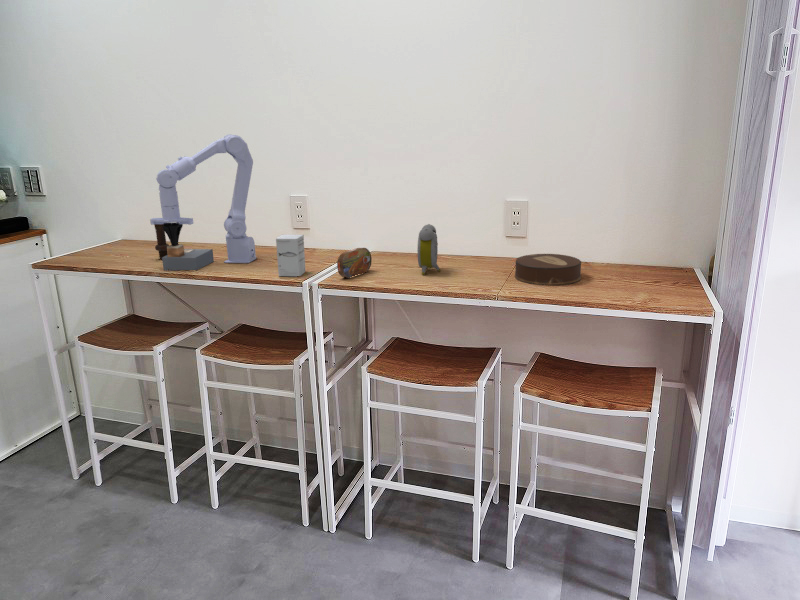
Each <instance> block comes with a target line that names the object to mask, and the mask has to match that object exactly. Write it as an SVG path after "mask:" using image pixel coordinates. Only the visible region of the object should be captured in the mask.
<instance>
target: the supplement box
mask: <svg viewBox="0 0 800 600" xmlns="http://www.w3.org/2000/svg"><path fill="white" fill-rule="evenodd" d="M304 238H305V237H304V234H281V235H279V236H278V237H276V239H275V243H276V256H277V257H276V259H277V270H278V271H277V272H278V277H297V276H300V277H301V276H302V275H304V274H305V273H306V254H305V241H304V240H305V239H304Z"/></svg>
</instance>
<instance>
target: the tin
mask: <svg viewBox="0 0 800 600" xmlns="http://www.w3.org/2000/svg"><path fill="white" fill-rule="evenodd" d="M336 265H337V266H336V267H337V272H338V274H339V276H340V277H342V278H345V277H346V279H351V278H350V277H352V276H355V275H358V274H361V275H363V274H362V273H364V274H366V273H367V272H369V270H370V269H371V268H372V267H371V266H372V255H371V252H370V250H369V249H368V248H367V247H357V248H354V249H350V250H348V251H343V252H342V253H340V254H339V256H338V258H337V261H336ZM365 272H366V273H365ZM358 276H359V275H358Z"/></svg>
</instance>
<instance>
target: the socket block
mask: <svg viewBox="0 0 800 600" xmlns="http://www.w3.org/2000/svg"><path fill="white" fill-rule="evenodd" d="M184 250H194V251H192V252H189V253H184V254H185V255H183V256H181V257H168V255H167V256H164V257H162V260H161V261H162V268H163V271H178V270H197V271H199V270H200V268H201V269H202V268H204V267H206V266H208V265H209V264H211V263H214V261H215V260H214V259H215V258H214V251H213V248H184ZM168 269H169V270H168ZM198 269H199V270H198Z"/></svg>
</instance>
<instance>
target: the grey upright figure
mask: <svg viewBox="0 0 800 600" xmlns="http://www.w3.org/2000/svg"><path fill="white" fill-rule="evenodd" d="M438 245H439V244H438V235H437V229H436V227H435V226H434V225H433V224H430V223H428V224H425V225H424V226H423V227H422V228H421V230H420V231H419V232H418V237H417V263H418V264H417V265H418V267H419V268H421V276H425V273H426V272H427V271H426V270H427V269H434V270H436V271H437V272H438V273H440V272H441V271H442V270H441V268H440V267H439V265H438V253H439V252H438Z"/></svg>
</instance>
